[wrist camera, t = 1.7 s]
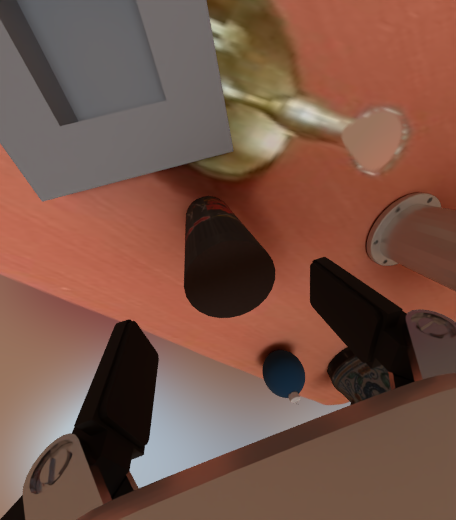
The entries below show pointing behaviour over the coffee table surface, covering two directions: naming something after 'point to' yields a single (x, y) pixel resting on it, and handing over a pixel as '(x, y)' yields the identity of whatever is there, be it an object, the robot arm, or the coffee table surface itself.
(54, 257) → the coffee table surface
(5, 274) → the coffee table surface
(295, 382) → the christmas ornament
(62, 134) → the socket block
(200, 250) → the deodorant
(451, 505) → the robot arm
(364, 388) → the beer stein
